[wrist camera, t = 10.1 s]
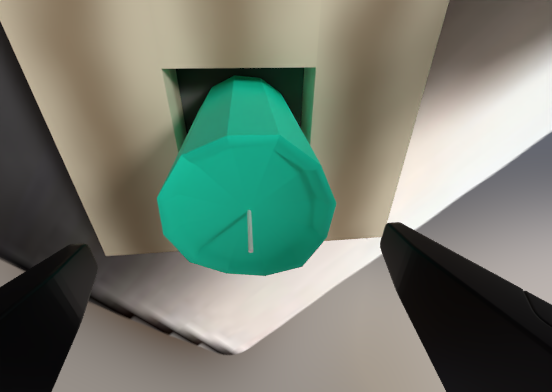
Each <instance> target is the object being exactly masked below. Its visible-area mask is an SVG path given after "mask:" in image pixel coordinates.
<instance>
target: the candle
mask: <svg viewBox="0 0 552 392" xmlns="http://www.w3.org/2000/svg"><path fill="white" fill-rule="evenodd" d="M157 203H158V208H159V214H160V219H161V225H162V230H163V235H164V236H165V237H166V238H167V239H168V240H169V241H170V242H171V243H172V244H173V245H174V246H175V247H176V248H177V249H178V250H179V252H180V253H181V254H182V255H183V256H184V257H185V258H186V259H187V260H188V261H189V262H191V263H194V264H198V265H201V266H204V267H207V268H211V269H214V270H217V271H221V272H224V273H230V274H245V275H261V276H266V275H270V274H274V273H278V272H282V271H286V270H290V269H295V268H299V267H302V266H303V265H304V264H305V263H306V261H307V260H308V259H309V258H310V257H311V256H312V254H313V253H314V252H315V251H316V250H317V248H318V247H319V246H320V245H321V244H322V243H323V241H324V240H325V239H326V238H327V236H328V232H329V229H330V225H331V221H332V218H333V214H334V211H335V207H336V204H337V203H336V201H335V198H334V196H333V193H332V191H331V188H330V186H329V183H328V181H327V178H326V176H325V173H324V171H323V168H322V166H321V164H320V162H319V160H318V159H317V157H316V155H315V153H314V151H313V150H312V148H311V146H310V144H309V143H308V141H307V139H306V137H305V135H304V134H303V132H302V130H301V128H300V127H299V125H298V123H297V121H296V119H295V118H294V116H293V114H292V112H291V111H290V109H289V107H288V105H287V103H286V102H285V100H284V98H283V96H282V94H281V93H280V92H279V91H277V90H276V89H275V88H273V87H272V86H271V85H269V84H268V83H267V82H265V81H264V80H263V79H261V78H258V77H247V76H235V75H234V76H232V77H230V78H229V79H227V80H225V81H223V82H221V83H219V84H217V85H215V86H213V87H212V88H211V90H210V91H209V93H208V95H207V97H206V98H205V100H204V102H203V104H202V106H201V107H200V109H199V111H198V113H197V115H196V118H195V120H194V122H193V124H192V126H191V128H190V130H189V132H188V134H187V136H186V138H185V140H184V142H183V145H182V147H181V149H180V151H179V153H178V155H177V157H176V159H175V161H174V163H173V165H172V167H171V170H170V172H169V174H168V176H167V178H166V180H165V182H164V184H163V186H162V188H161V190H160V192H159V194H158V197H157Z"/></svg>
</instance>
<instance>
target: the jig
mask: <svg viewBox="0 0 552 392" xmlns="http://www.w3.org/2000/svg"><path fill="white" fill-rule="evenodd" d="M448 4H449V0H0V21H1V24H2V26H3V28H4V30H5V32H6V35H7V37H8V39H9V41H10V44H11V46H12V48H13V50H14V52H15V55H16V57H17V59H18V61H19V64H20V66H21V68H22V70H23V72H24V75H25V77H26V79H27V81H28V84H29V86H30V88H31V90H32V93H33V95H34V97H35V99H36V101H37V104H38V106H39V108H40V110H41V113H42V115H43V117H44V119H45V121H46V124H47V126H48V128H49V130H50V133H51V135H52V137H53V139H54V141H55V144H56V146H57V148H58V150H59V153H60V155H61V157H62V159H63V161H64V164H65V166H66V168H67V170H68V173H69V175H70V177H71V179H72V182H73V184H74V186H75V188H76V190H77V193H78V195H79V197H80V199H81V202H82V204H83V206H84V208H85V210H86V213H87V215H88V217H89V219H90V222H91V224H92V226H93V228H94V230H95V233H96V235H97V237H98V239H99V242H100V244H101V246H102V248H103V250H104V253H105V255H106V256H115V255H130V254H144V253H158V252H173V251H179V250H178V249H177V248H176V247H175V246H174V245H173V244H172V243H171V242H170V241H169V240H168V239H167V238H166V237H165V236H164V235H163V230H162V225H161V219H160V214H159V208H158V203H157V197H158V194H159V192H160V190H161V188H162V186H163V184H164V182H165V180H166V178H167V176H168V174H169V172H170V170H171V167H172V165H173V163H174V161H175V159H176V157H177V155H178V153H179V151H180V149H181V147H182V145H183V142H184V140H185V138H186V136H187V132H186V126H185V120H184V114H183V109H182V103H181V97H180V91H179V86H178V80H177V74H176V69H180V68H303V67H304V79H303V97H302V115H301V130H302V132H303V134H304V135H305V137H306V139H307V141H308V143H309V144H310V146H311V148H312V150H313V151H314V153H315V155H316V157H317V159H318V160H319V162H320V164H321V166H322V168H323V171H324V173H325V176H326V178H327V181H328V183H329V186H330V188H331V191H332V193H333V196H334V198H335V201H336V203H337V204H336V207H335V211H334V214H333V218H332V221H331V225H330V229H329V232H328V236H327V238H326V239H325V240H324V241H331V240H345V239H359V238H374V237H382V235H383V231H384V227H385V225H386V224H387V220H388V217H389V213H390V210H391V206H392V203H393V199H394V195H395V192H396V188H397V185H398V181H399V178H400V174H401V171H402V167H403V163H404V160H405V156H406V153H407V149H408V146H409V142H410V139H411V135H412V132H413V128H414V124H415V121H416V117H417V114H418V110H419V107H420V103H421V100H422V96H423V93H424V89H425V85H426V82H427V78H428V75H429V71H430V68H431V64H432V61H433V57H434V53H435V50H436V46H437V43H438V39H439V36H440V32H441V29H442V25H443V22H444V18H445V14H446V11H447V7H448Z"/></svg>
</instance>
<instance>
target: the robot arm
mask: <svg viewBox="0 0 552 392" xmlns="http://www.w3.org/2000/svg"><path fill="white" fill-rule="evenodd" d="M380 248H381V251H382V254H383V257H384V259H385V262H386V265H387V268H388V270H389V273H390V276H391V278H392V281H393V284H394V286H395V288H396V291H397V293H398V295H399V298H400V299H401V302H402V304H403V306H404V308H405V310H406V312H407V314H408V316H409V318H410V320H411V322H412V323H413V326H414V328H415V329H416V332H417V334H418V336H419V338H420V340H421V342H422V344H423V346H424V348H425V350H426V352H427V354H428V356H429V358H430V360H431V362H432V364H433V366H434V368H435V370H436V372H437V374H438V376H439V378H440V380H441V382H442V384H443V386H444V388H445V390H446V392H552V305H551V304H549V303H547V302H545V301H544V300H542V299H540V298H538V297H536V296H534V295H533V294H531V293H529V292H527V291H523V289H521V288H520V287H518V286H516V285H514V284H512V283H510V282H509V281H507V280H505V279H503V278H501V277H499V276H498V275H496V274H494V273H492V272H490V271H488V270H486V269H485V268H483V267H481V266H479V265H477V264H476V263H474V262H472V261H470V260H468V259H466V258H464V257H463V256H460V255H459V254H457V253H455V252H453V251H451V250H450V249H448V248H446V247H444V246H442V245H441V244H439V243H437V242H435V241H433V240H431V239H429V238H428V237H426V236H424V235H422V234H420V233H418V232H416V231H415V230H413V229H411V228H409V227H407V226H406V225H404V224H402V223H399V222H395V223H387V224H386V225H385V227H384V231H383V235H382V238H381V242H380ZM97 269H98V266H97V263H96V260H95V258H94V256H93V254H92V252H91V250H90V248H89V246H88V245H86V244H72V245H68V246H66V247H65V248H63V249H62V250H60V251H58V252H57V253H55V254H53V255H52V256H50V257H49V258H47V259H45V260H44V261H42V262H40V263H39V264H37V265H36V266H34V267H32V268H31V269H29V270H27V271H26V272H24V273H23V274H21V275H19V276H18V277H16V278H14V279H13V280H11V281H10V282H8V283H6V284H5V285H3V286H1V287H0V392H52V389H53V387H54V385H55V382H56V380H57V378H58V375H59V373H60V371H61V368H62V366H63V364H64V362H65V359H66V357H67V354H68V352H69V350H70V348H71V345H72V343H73V340H74V338H75V336H76V334H77V331H78V329H79V327H80V324H81V322H82V319H83V316H84V313H85V310H86V306H87V303H88V300H89V297H90V293H91V290H92V287H93V284H94V281H95V277H96V274H97Z"/></svg>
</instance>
